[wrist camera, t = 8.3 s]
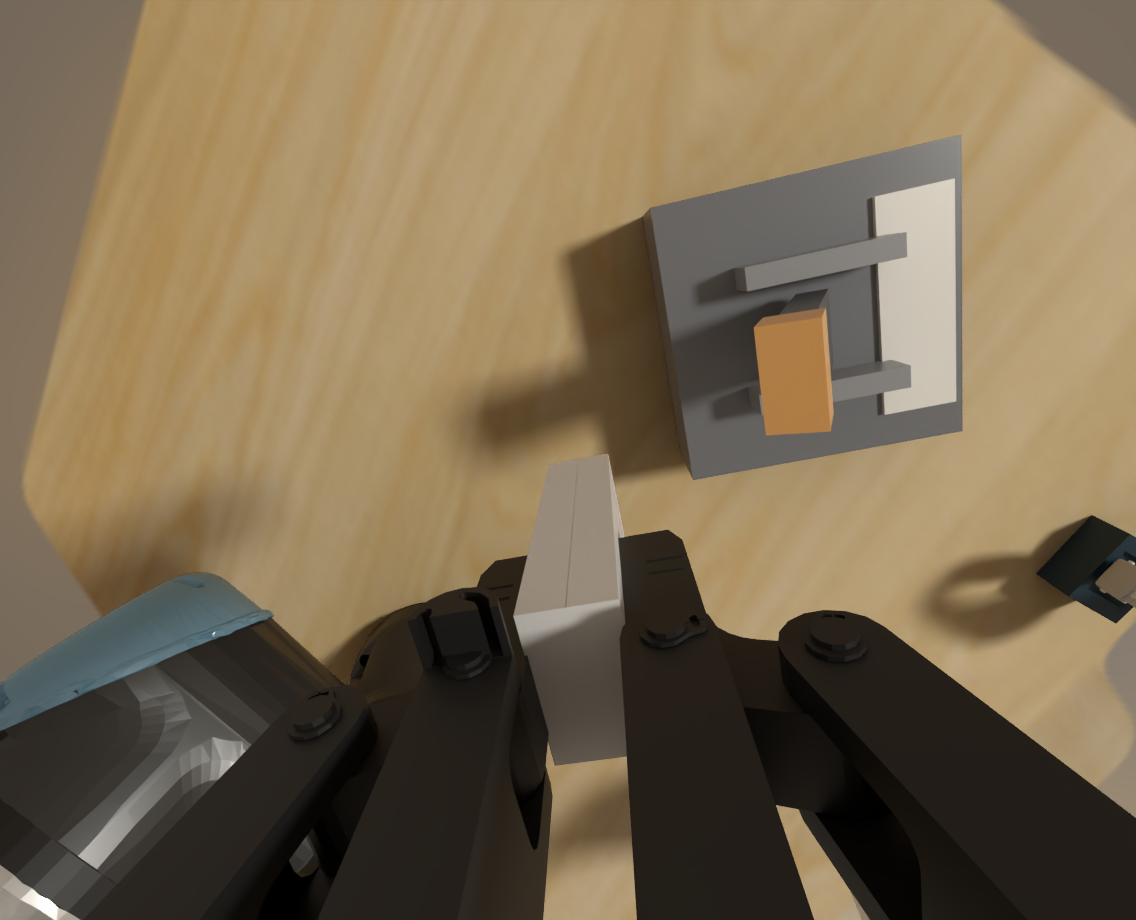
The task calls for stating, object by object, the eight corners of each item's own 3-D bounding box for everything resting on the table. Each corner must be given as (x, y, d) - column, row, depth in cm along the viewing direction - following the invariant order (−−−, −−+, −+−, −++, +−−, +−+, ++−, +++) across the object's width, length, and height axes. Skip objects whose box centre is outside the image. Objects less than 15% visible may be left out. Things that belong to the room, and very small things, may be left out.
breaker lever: (795, 370, 32) (765, 435, 23) (787, 291, 31) (753, 327, 22) (841, 365, 31) (830, 431, 22) (836, 283, 30) (821, 317, 21)
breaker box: (680, 452, 41) (699, 494, 33) (642, 216, 36) (654, 203, 29) (912, 408, 39) (988, 442, 32) (905, 155, 34) (992, 123, 27)
